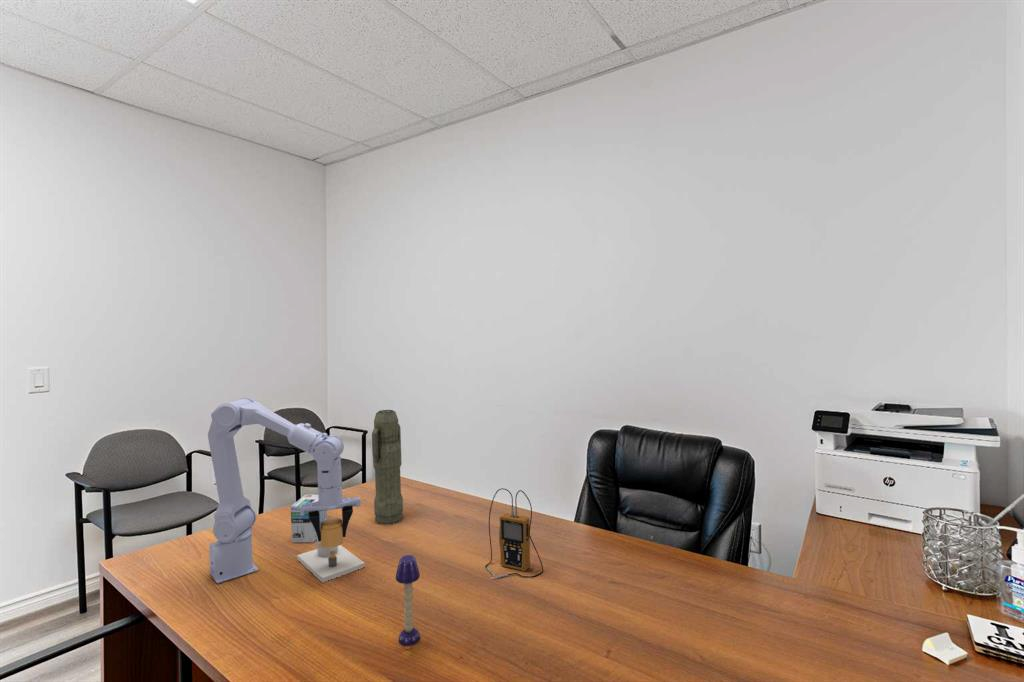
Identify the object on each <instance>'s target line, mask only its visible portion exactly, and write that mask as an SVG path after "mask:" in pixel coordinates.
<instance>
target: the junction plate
mask: <svg viewBox="0 0 1024 682" xmlns="http://www.w3.org/2000/svg"><path fill="white" fill-rule="evenodd" d="M320 532H321V531H320ZM296 558H297V561H298V562H299V561H300V562H301V564H302V566H303V567H305V568H306V569H307V570H308V571H309V570H310V571H309V572H310V573H311V572H312V573H313V574H312V573H311V574H312V575H314V576H315V577H316V578H317V580H319V581H320V582H321V583H326V582H328V580H329V581H332V580H334V579H336V577H337V578H339V577H343V576H346V575H348V574H351V573H353V571H354V572H356V571H359V570H361V568H362V569H364V568H363V567H365V568H366V563H365V562H364V561H362V560H361V559H360V558H359V557H357V556H356V555H355V554H353V553H352V552H350V551H349V550H348V549H346V548H345V547H344V546H342V544H341V545H339V546H337V547H332V548H325V547H321V541H319V542H318V537H317V539H316V548H315V549H312V550H309V551H305V552H303V553H300V554H297V555H296ZM300 562H299V563H300ZM358 569H359V570H358ZM355 570H356V571H355ZM350 572H351V573H350ZM347 573H348V574H347ZM342 575H343V576H342ZM331 579H332V580H331ZM325 581H326V582H325Z"/></svg>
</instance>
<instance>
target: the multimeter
mask: <svg viewBox="0 0 1024 682" xmlns="http://www.w3.org/2000/svg"><path fill="white" fill-rule="evenodd" d="M501 490H504V491H507V492H508V493H509V495H510V497H511V511H510V513H507V512H505V513H503V514H502V515H501V516H499V533H498V534H499V535H498V536H499V538H498V539H499V551H500V565H501V567H503V568H510V569H514V570H518V571H521V572H526V571H527V570H528V569H529V568H530V567H531V543H532V546H533V548H534V550H535V552H536V555H537V558H538V559H539V562H540V565H541V572H539V573H538V574H536V575H535V574H534V575H531V576H526V575H522V574H520V573H516V572H513V573H507V574H502V575H501V574H500V575H496V576H495V574H494V573H493V571H492V569H490V568H489V567H488V566H489V565H490V564H491V563H492V560H493V559H492V558H493V550H492V539H491V538H492V537H491V527H490V526H491V525H490V523H491V522H490V520H491V512H492V508H493V507H492V506H493V504H494V503H493V502H494V499H495V497H496V495H497V493H498V492H499V491H501ZM519 492H522V494H524V496H525V497H526V499H527V501H528V504H529V505H530V506H529V507H530V517H528V516H523V515H518V510H517V509H518V506H517V496H518V495H519ZM514 498H515V505H513V504H514V499H513V494H512V492H511V491H510V490H509V489H507V488H504V487H503V488H501V487H500V488H498V490H496V491H495V493H494V495H493V498H492V501H491V503H490V508H489V515H488V534H489V535H488V536H489V543H490V561H489V562H487V564H485V569H487V572H489V573H490V574H492V575H493V577H491V578H489V580H494V579H501V578H504V577H505V578H506V577H508V576H511V575H517V576H520V577H523V578H534V577H537V576H539V575H541V574H543V572H544V567H543V566H544V565H543V563H542V560H541V558H540V555H539V552H538V550H537V548H536V546H535V544H534V542H533V539H532V536H531V525H532V518H533V515H532V514H533V509H532V503H531V501H530V499H529V497H528V495H527V494H526V493H525V492H524V491H523V490H520V489H519V490H518V491H517V492H516V494H515V496H514ZM514 506H515V507H514ZM514 509H515V510H514ZM494 576H495V577H494Z"/></svg>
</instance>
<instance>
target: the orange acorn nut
mask: <svg viewBox="0 0 1024 682" xmlns="http://www.w3.org/2000/svg"><path fill="white" fill-rule="evenodd" d="M320 531H321V547H325V548H332V547H337V546H339V545H341V546H342V544H343V543H344V537H343V526H342V519H341V518H339V517H333V518H332V517H331V518H327V519H326V520H324V521H322V522H321V523H320Z"/></svg>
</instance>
